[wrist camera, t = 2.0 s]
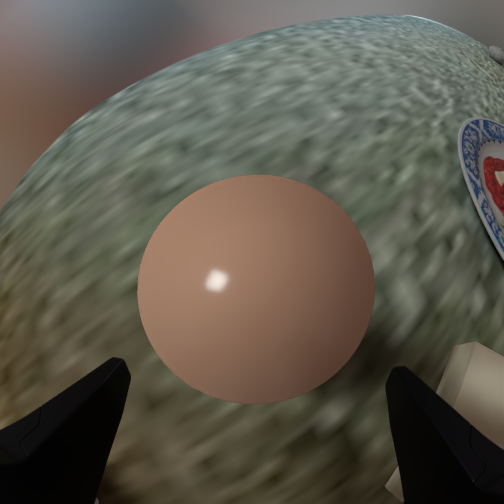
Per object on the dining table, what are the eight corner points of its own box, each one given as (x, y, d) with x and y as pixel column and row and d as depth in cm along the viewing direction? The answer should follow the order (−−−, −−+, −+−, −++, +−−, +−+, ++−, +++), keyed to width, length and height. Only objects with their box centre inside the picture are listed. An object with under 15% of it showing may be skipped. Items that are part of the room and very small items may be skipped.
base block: (473, 496, 10) (490, 504, 7) (384, 486, 13) (399, 501, 10) (524, 382, 14) (544, 380, 11) (453, 345, 16) (475, 341, 14)
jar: (281, 386, 17) (305, 444, 5) (209, 347, 18) (100, 319, 6) (318, 315, 18) (402, 230, 6) (248, 279, 19) (215, 149, 7)
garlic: (500, 61, 37) (505, 49, 32) (504, 69, 35) (511, 56, 31) (484, 51, 38) (489, 38, 34) (488, 57, 37) (494, 44, 32)
